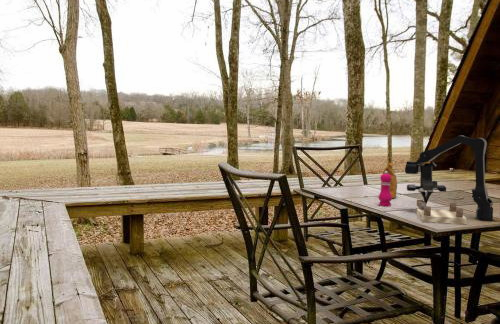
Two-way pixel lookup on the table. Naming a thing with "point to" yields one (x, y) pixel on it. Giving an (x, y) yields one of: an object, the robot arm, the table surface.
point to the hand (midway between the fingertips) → (425, 204)
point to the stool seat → (442, 215)
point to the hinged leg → (421, 204)
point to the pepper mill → (385, 190)
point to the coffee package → (393, 180)
